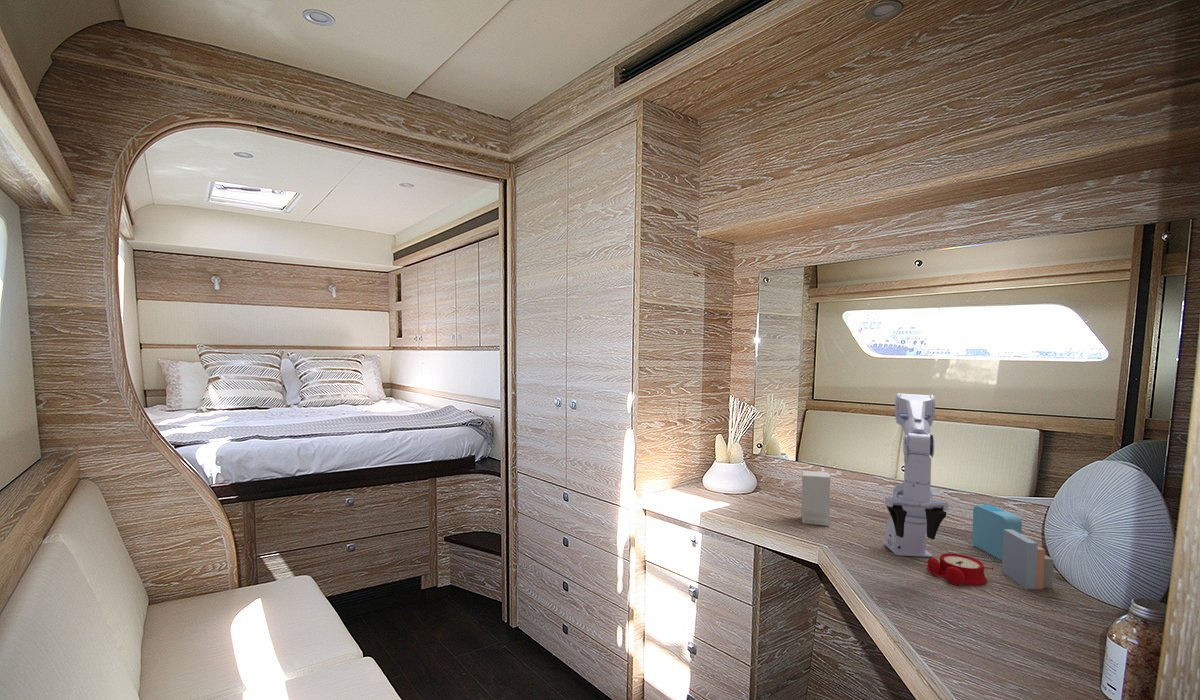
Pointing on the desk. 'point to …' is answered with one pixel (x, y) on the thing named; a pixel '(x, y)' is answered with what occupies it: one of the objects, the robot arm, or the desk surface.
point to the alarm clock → (958, 569)
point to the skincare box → (816, 498)
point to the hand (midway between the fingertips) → (915, 537)
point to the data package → (992, 528)
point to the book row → (1026, 561)
